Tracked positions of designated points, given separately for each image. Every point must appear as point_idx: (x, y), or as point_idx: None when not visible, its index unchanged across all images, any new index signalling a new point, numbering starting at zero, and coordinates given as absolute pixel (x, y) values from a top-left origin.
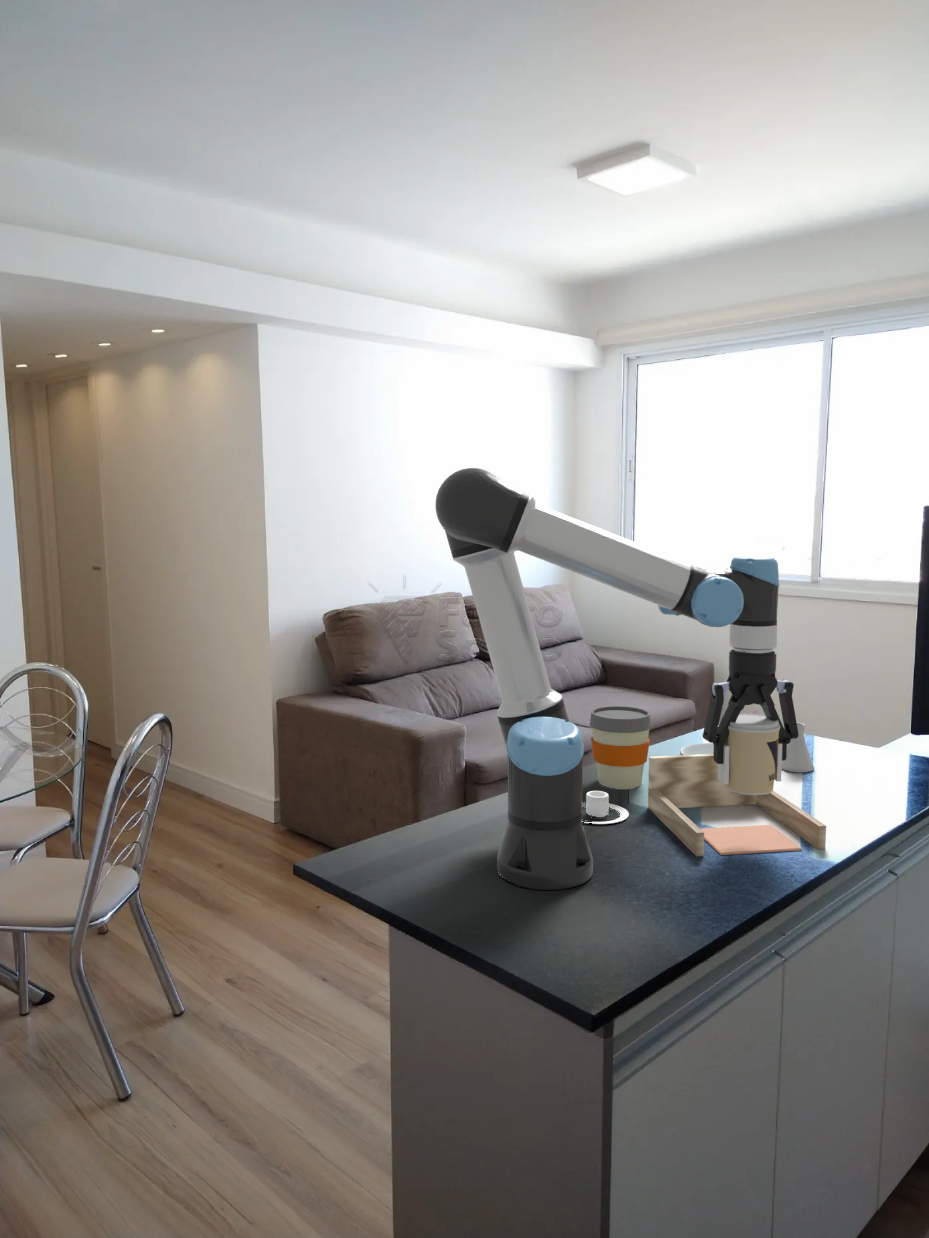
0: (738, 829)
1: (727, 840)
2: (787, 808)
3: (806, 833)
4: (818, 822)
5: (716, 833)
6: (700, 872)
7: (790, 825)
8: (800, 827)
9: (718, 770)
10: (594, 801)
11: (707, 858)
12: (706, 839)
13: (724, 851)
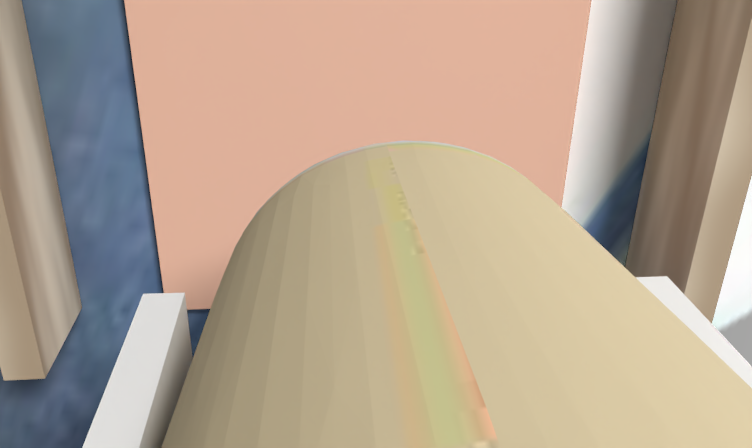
0: (375, 35)
1: (251, 177)
2: (738, 5)
3: (655, 203)
4: (703, 305)
5: (226, 78)
6: (29, 442)
7: (679, 37)
8: (672, 149)
9: (125, 352)
10: None
11: (94, 329)
12: (144, 147)
13: (187, 299)
